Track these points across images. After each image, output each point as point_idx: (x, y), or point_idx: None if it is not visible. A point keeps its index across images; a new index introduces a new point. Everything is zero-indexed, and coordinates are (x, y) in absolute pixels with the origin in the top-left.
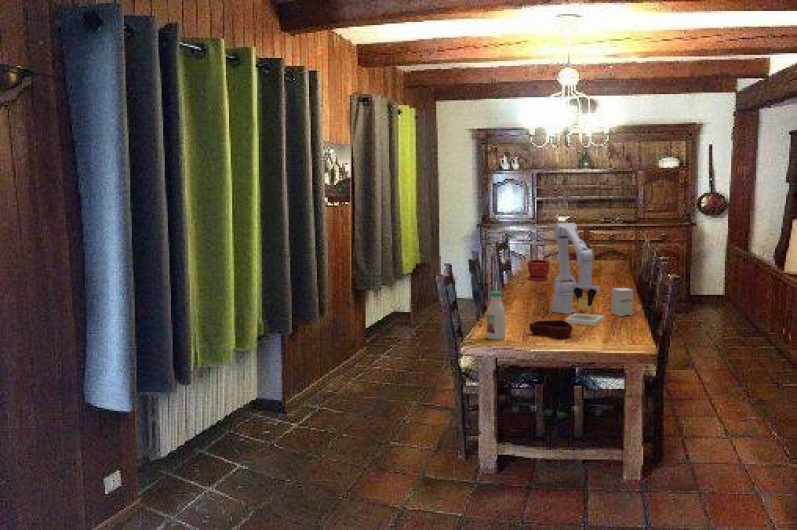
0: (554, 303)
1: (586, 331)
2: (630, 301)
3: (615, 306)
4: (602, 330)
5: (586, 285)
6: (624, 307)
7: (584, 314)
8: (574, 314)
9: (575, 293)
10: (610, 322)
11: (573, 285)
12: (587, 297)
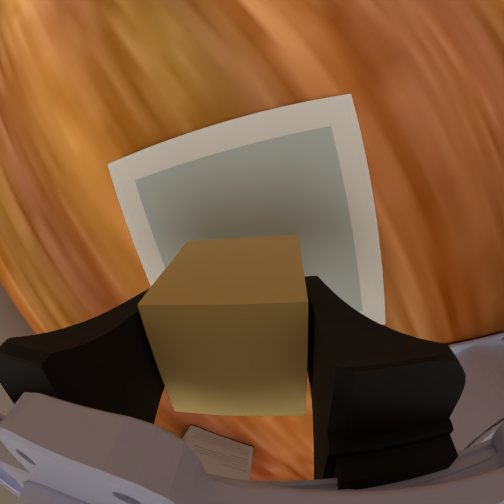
0: None
1: (94, 18)
2: None
3: (216, 469)
4: (47, 107)
5: (17, 501)
6: None
7: None
8: (372, 289)
9: (385, 338)
10: None
11: (499, 486)
12: (221, 396)
